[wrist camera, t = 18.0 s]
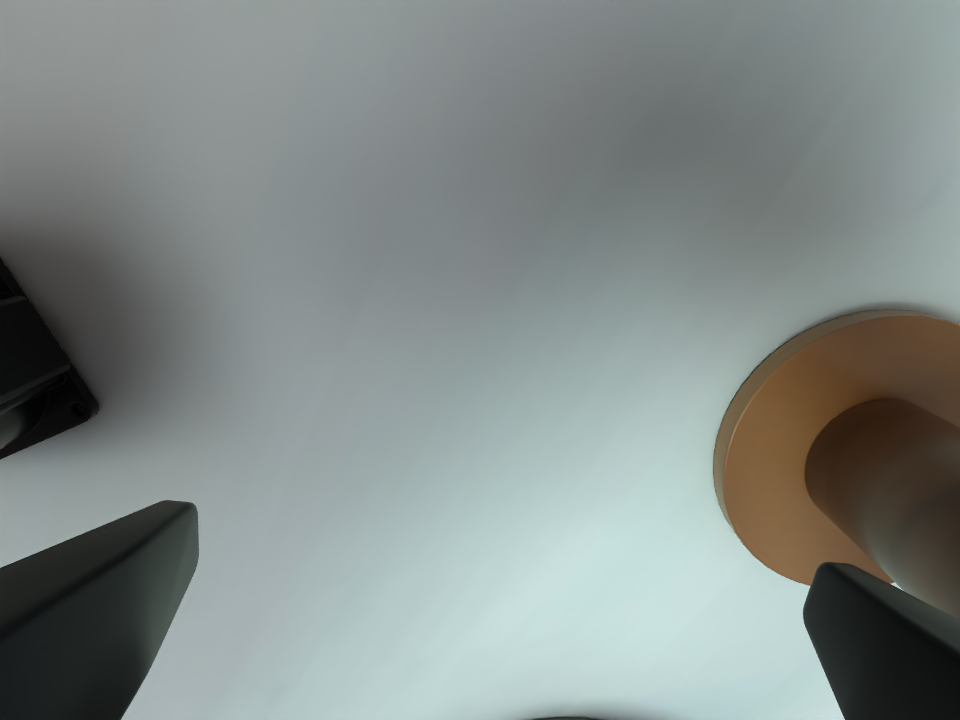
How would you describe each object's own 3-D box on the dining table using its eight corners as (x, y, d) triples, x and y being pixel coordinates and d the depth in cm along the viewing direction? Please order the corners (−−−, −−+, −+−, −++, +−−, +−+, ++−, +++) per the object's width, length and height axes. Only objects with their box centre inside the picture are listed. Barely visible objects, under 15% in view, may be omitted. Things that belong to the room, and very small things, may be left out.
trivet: (756, 610, 25) (767, 627, 24) (674, 380, 22) (684, 390, 21) (1025, 515, 24) (1049, 530, 23) (980, 259, 20) (1005, 263, 20)
